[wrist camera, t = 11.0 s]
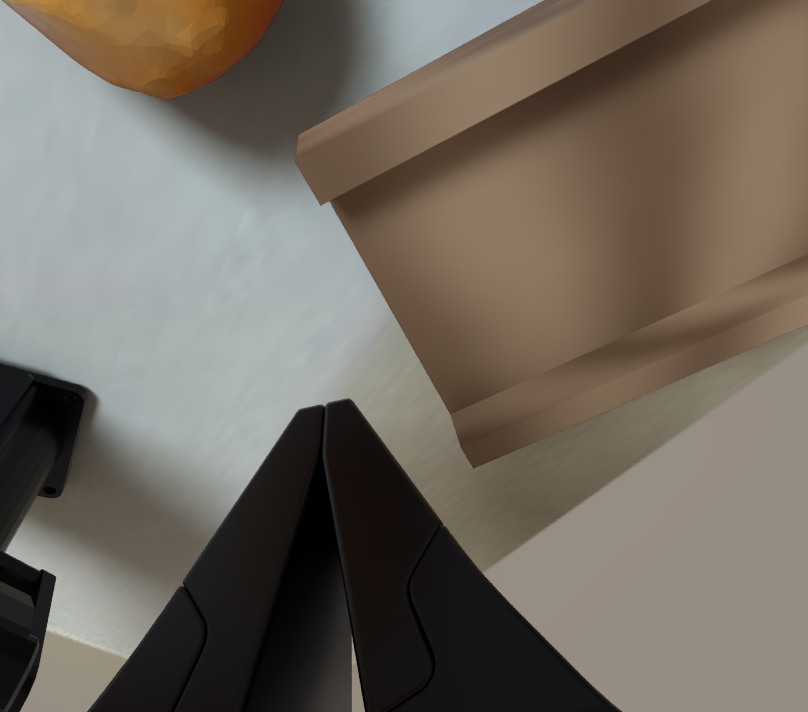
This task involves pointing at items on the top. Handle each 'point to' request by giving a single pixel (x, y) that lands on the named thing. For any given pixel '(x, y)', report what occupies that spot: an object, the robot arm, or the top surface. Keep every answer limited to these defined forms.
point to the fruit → (152, 38)
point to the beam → (582, 204)
